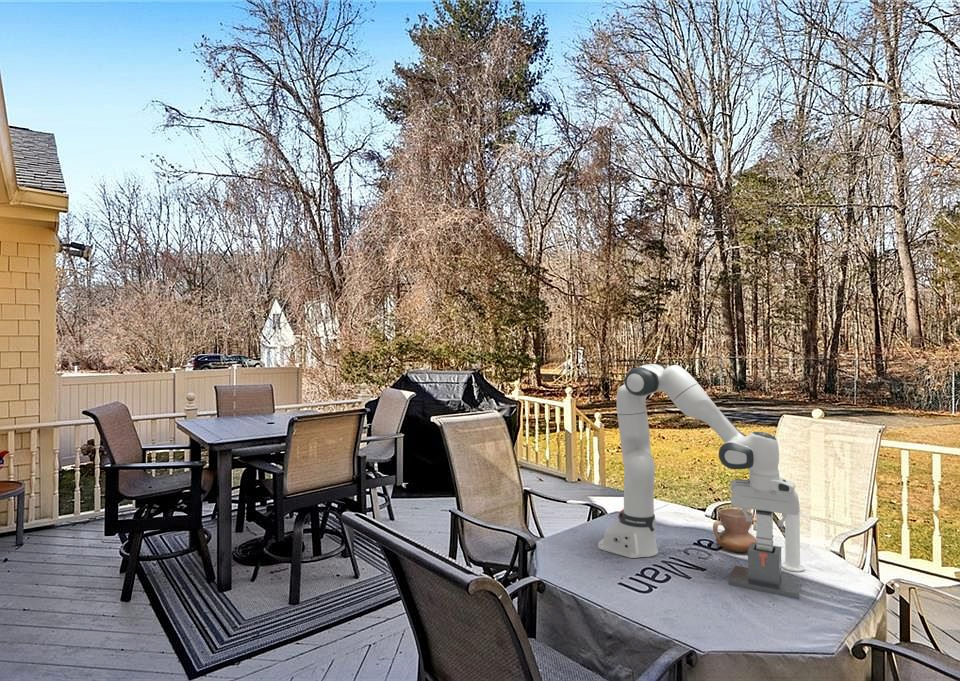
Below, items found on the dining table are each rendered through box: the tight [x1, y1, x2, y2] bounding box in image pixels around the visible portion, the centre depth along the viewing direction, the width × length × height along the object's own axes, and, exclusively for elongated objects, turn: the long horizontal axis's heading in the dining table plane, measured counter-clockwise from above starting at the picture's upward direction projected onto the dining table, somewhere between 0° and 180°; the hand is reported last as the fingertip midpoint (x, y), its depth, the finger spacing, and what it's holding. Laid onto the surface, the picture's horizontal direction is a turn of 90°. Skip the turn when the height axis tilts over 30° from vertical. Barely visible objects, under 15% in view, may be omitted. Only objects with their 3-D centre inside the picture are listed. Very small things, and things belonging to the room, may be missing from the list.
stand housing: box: [728, 542, 802, 599], centre depth 187 cm, size 20×14×12 cm
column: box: [755, 510, 774, 553], centre depth 187 cm, size 5×5×16 cm
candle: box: [781, 512, 805, 573], centre depth 199 cm, size 7×7×25 cm
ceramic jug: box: [712, 507, 757, 553], centre depth 218 cm, size 18×14×14 cm
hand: (764, 523), depth 187 cm, fingers open, 8 cm apart
